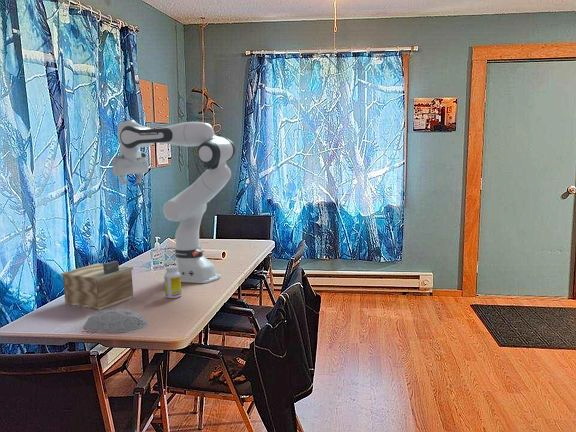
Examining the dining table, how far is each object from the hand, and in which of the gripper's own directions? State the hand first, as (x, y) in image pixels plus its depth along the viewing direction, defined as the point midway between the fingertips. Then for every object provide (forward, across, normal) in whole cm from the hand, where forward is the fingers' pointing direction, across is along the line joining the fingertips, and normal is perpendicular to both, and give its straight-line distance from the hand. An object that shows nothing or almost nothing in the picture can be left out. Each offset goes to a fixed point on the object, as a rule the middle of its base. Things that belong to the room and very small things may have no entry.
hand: (131, 183), depth 257 cm
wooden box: (+45, -39, -16) cm, 62 cm away
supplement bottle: (+46, -22, -41) cm, 65 cm away
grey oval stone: (+46, -58, -45) cm, 87 cm away
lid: (+33, -39, -16) cm, 54 cm away
